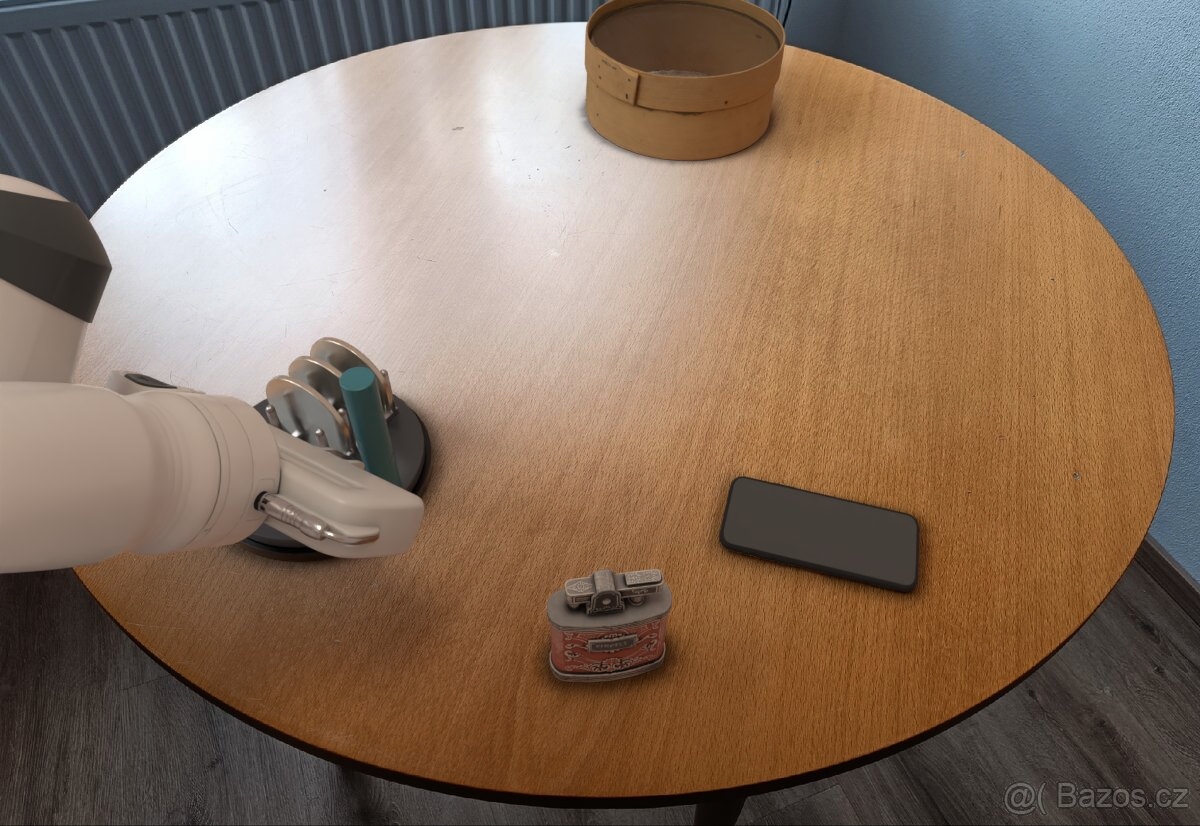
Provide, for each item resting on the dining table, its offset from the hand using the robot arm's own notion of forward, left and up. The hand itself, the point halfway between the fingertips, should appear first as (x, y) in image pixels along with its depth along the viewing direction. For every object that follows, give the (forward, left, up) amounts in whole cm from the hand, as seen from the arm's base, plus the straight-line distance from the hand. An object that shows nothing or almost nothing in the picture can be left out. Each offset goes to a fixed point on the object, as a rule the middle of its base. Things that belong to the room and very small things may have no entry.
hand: (346, 466), depth 62 cm
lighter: (0, -22, -8) cm, 23 cm away
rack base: (+3, +7, -7) cm, 10 cm away
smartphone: (+17, -31, -7) cm, 36 cm away
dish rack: (+3, +7, -6) cm, 10 cm away
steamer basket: (+73, +8, -8) cm, 74 cm away
